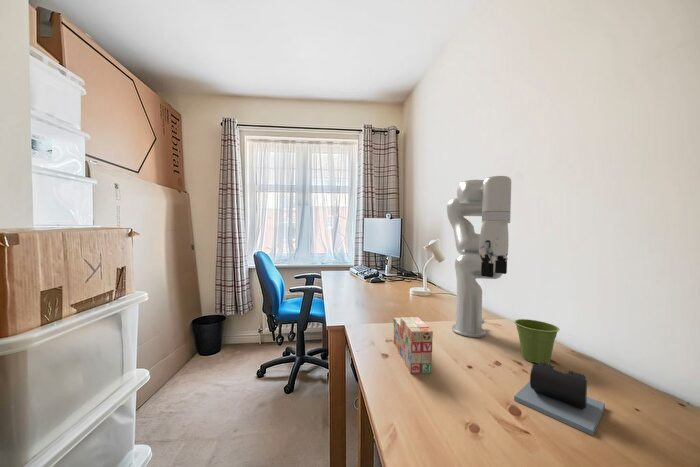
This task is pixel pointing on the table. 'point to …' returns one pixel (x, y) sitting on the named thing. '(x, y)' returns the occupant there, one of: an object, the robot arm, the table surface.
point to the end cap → (559, 385)
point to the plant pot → (536, 339)
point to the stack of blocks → (414, 343)
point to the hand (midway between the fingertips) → (494, 274)
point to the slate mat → (563, 409)
